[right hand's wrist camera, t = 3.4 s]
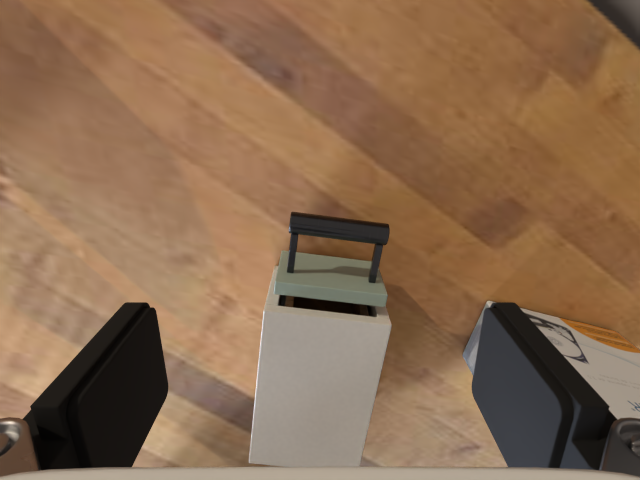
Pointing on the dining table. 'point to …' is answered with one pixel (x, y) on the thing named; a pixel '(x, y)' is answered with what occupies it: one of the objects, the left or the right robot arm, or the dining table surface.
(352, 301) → the drawer
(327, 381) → the cabinet
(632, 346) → the hard drive box
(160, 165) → the dining table surface
